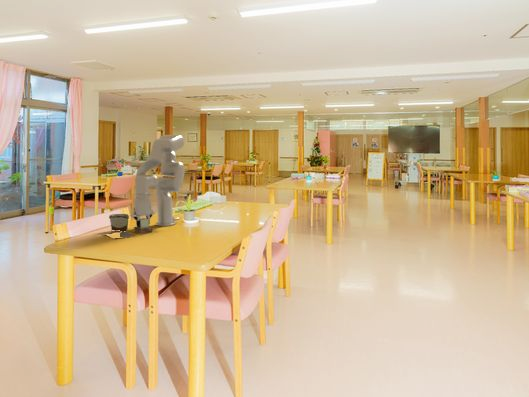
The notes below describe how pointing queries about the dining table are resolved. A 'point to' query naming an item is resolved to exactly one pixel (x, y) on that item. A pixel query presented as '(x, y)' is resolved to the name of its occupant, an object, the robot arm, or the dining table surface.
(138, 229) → the walnut holder
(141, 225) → the sage block
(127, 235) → the charcoal mat
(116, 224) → the food container
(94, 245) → the dining table surface
